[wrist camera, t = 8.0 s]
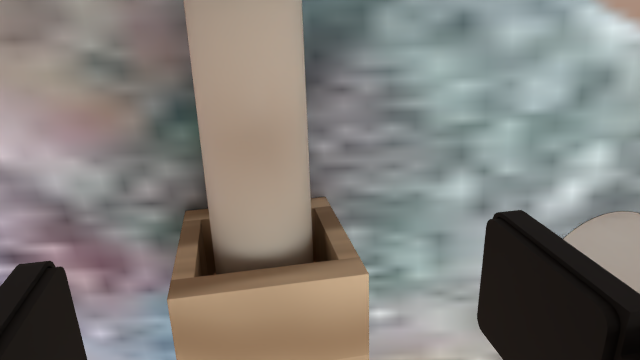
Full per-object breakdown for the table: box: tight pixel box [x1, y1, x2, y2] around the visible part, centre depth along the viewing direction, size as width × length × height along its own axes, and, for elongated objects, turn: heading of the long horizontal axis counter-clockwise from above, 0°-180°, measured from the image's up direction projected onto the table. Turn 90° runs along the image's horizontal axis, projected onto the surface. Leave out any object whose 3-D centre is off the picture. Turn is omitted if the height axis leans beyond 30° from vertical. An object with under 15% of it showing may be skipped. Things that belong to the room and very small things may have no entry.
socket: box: [167, 197, 369, 360], centre depth 21 cm, size 6×7×8 cm
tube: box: [183, 0, 315, 275], centre depth 19 cm, size 15×5×5 cm, turn 2°
